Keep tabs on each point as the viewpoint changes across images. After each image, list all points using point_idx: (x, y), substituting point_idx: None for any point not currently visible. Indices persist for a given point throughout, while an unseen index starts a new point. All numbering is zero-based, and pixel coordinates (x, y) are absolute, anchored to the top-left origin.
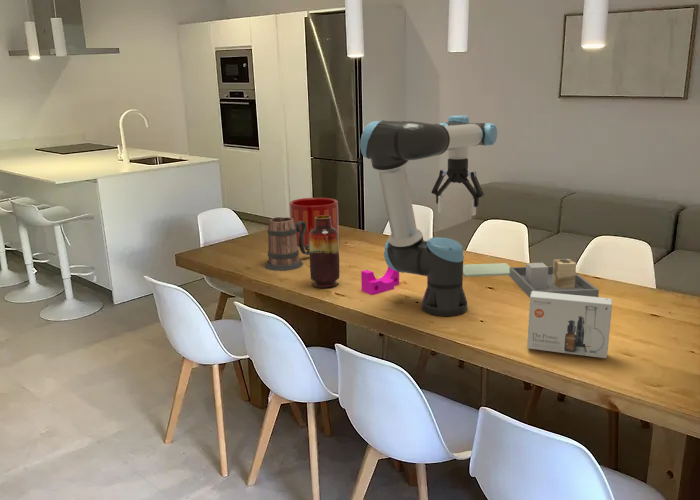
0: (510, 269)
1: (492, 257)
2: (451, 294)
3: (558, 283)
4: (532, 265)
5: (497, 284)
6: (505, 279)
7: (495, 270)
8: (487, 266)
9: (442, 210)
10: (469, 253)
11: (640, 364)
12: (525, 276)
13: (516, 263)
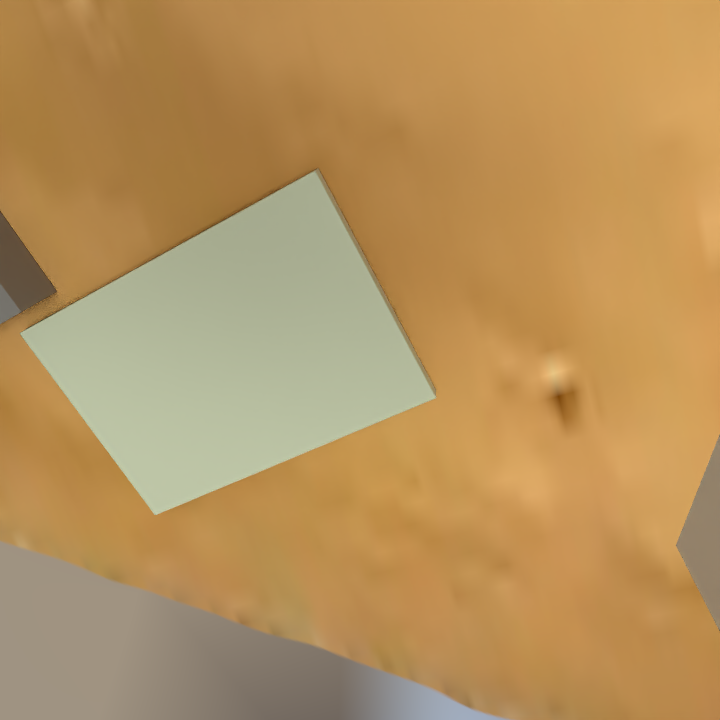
0: (13, 291)
1: (288, 631)
2: None
3: None
4: None
5: (50, 73)
6: (51, 216)
7: (156, 344)
8: (234, 415)
9: (690, 556)
10: (440, 674)
11: None
12: None
13: (124, 556)
